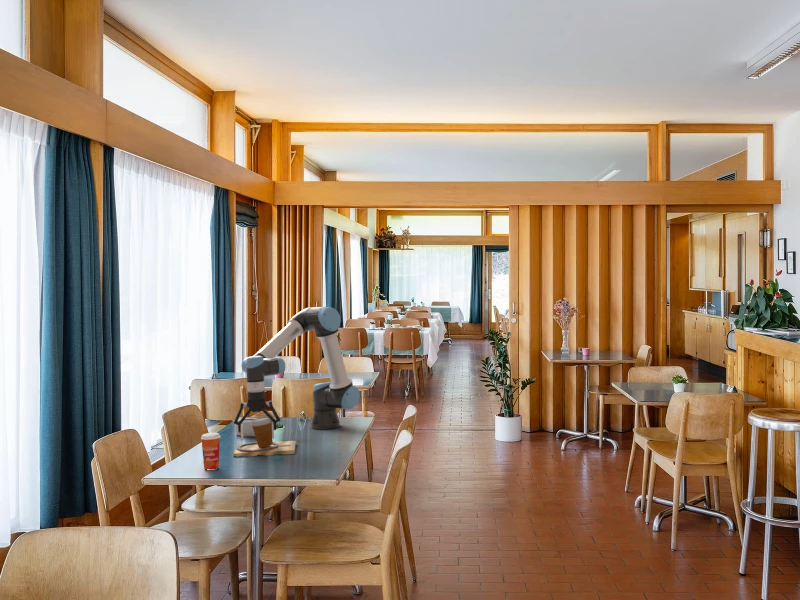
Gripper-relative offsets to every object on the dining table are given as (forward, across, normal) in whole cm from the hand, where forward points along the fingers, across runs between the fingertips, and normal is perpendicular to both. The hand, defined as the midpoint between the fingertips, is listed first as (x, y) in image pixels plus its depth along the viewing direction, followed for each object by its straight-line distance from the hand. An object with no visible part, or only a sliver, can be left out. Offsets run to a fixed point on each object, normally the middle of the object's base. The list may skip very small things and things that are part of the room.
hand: (257, 438), depth 310 cm
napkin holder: (+6, -5, +36) cm, 37 cm away
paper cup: (+5, -16, -29) cm, 34 cm away
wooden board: (+5, +3, 0) cm, 6 cm away
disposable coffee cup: (+3, +3, 0) cm, 5 cm away
